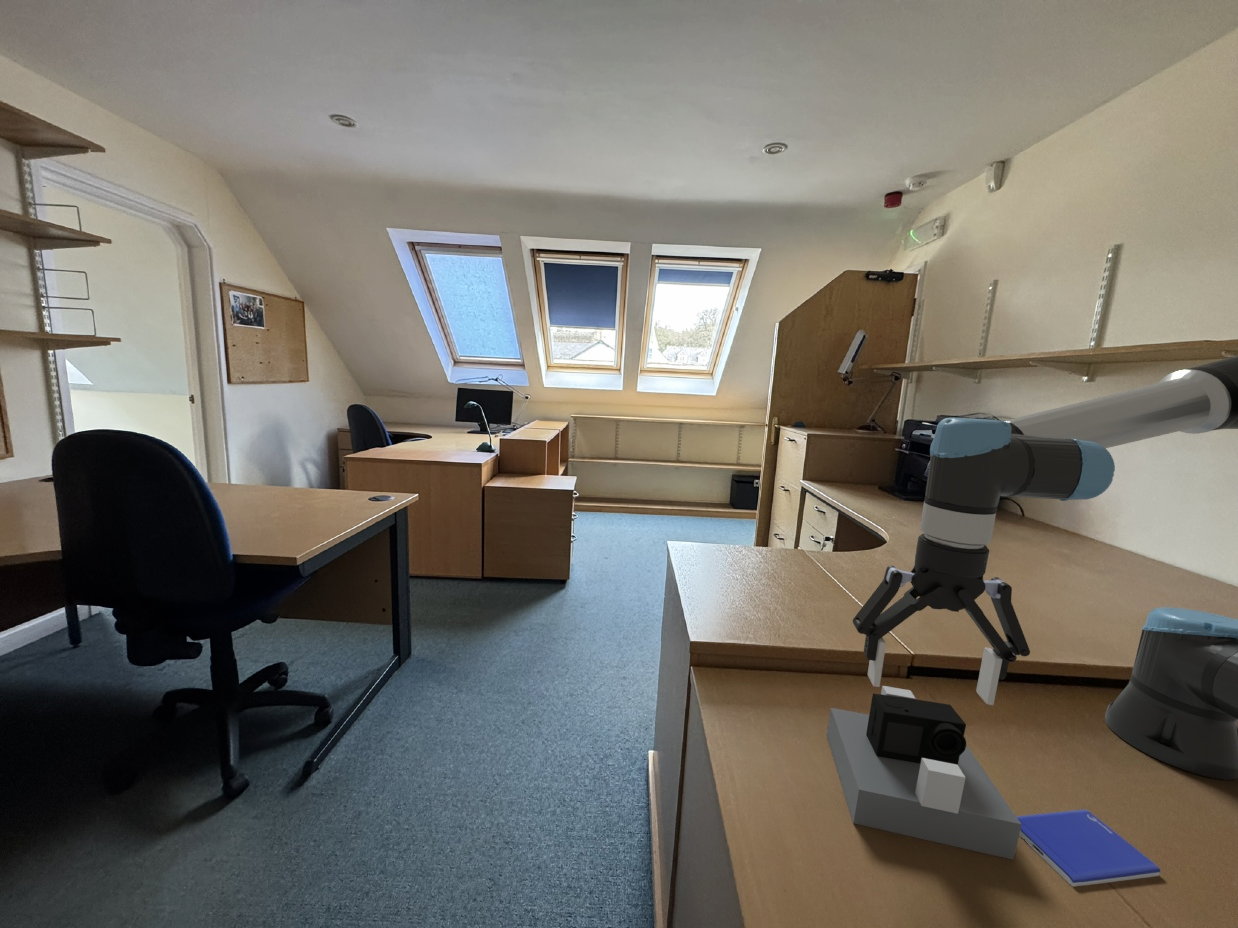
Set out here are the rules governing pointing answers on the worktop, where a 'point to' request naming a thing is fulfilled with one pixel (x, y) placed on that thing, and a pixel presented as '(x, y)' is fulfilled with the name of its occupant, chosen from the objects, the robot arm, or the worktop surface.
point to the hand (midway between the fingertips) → (927, 689)
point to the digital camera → (915, 730)
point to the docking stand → (920, 791)
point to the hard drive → (1084, 848)
